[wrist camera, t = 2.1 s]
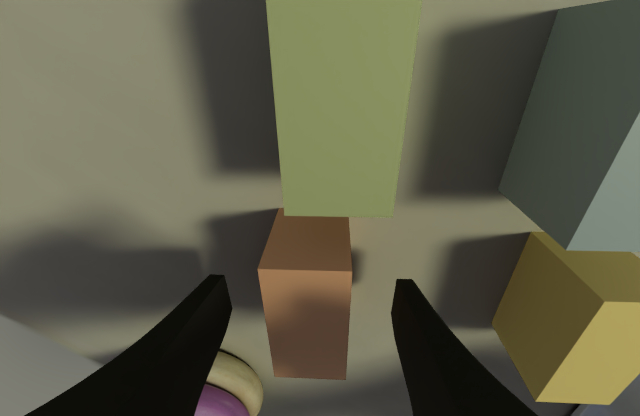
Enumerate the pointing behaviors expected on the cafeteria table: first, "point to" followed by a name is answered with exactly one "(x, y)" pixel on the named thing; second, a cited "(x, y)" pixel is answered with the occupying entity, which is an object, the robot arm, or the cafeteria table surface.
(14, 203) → the cafeteria table surface
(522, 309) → the mustard brick
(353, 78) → the olive brick
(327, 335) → the terracotta brick
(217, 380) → the stacking toy
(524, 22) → the cafeteria table surface
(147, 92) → the cafeteria table surface
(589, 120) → the slate brick
